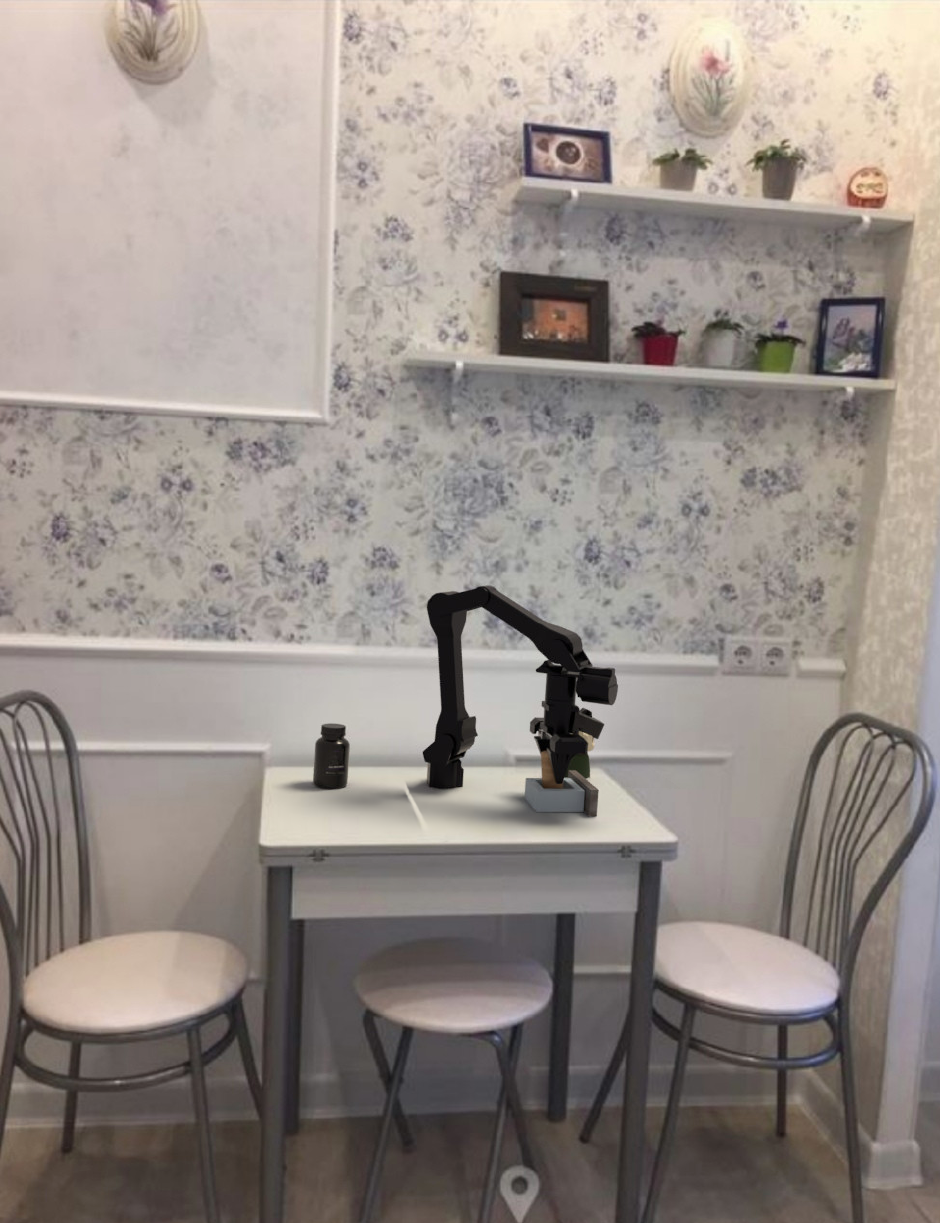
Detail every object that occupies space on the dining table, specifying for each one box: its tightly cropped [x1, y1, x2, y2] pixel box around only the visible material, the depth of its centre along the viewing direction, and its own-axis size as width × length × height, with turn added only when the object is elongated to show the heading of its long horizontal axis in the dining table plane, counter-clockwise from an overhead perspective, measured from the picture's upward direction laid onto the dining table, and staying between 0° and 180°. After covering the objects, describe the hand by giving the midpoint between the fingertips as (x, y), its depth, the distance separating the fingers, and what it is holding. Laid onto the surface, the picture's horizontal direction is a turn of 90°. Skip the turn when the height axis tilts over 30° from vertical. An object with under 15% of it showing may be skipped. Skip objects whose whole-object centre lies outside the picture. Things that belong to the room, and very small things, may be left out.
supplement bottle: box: [312, 722, 351, 790], centre depth 204 cm, size 7×7×12 cm
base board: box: [568, 770, 599, 817], centre depth 194 cm, size 18×14×6 cm
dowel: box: [540, 751, 564, 789], centre depth 194 cm, size 4×4×10 cm
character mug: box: [564, 731, 595, 780], centre depth 218 cm, size 11×7×13 cm, turn 13°
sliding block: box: [524, 777, 585, 813], centre depth 195 cm, size 9×9×4 cm
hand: (554, 779), depth 194 cm, fingers open, 5 cm apart
